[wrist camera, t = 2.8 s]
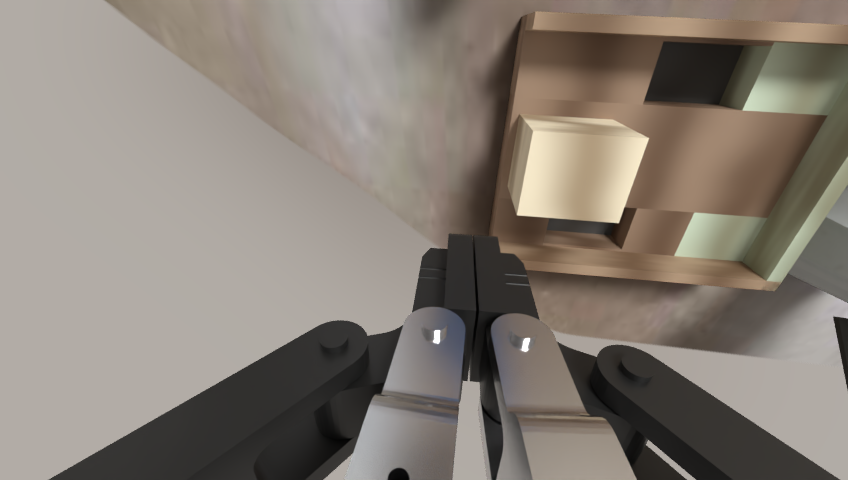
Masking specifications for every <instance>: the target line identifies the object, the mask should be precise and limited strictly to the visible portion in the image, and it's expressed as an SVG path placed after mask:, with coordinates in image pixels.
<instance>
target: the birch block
mask: <svg viewBox="0 0 848 480" xmlns="http://www.w3.org/2000/svg"><path fill="white" fill-rule="evenodd" d="M648 140H649V138H648V137H646V136H644V135H642V134H640V133H638V132H636V131H634V130H632V129H630V128H628V127H626V126H625V125H623V124H621V123H619V122H617V121H615V120H611V119H594V118H577V117H561V116H544V115H528V114H520V115H519V121H518V127H517V133H516V139H515V144H514V150H513V156H512V162H511V168H510V174H509V180H508V189H509V192H510V195H511V198H512V201H513V205H514V208H515V211H516V214H517V215H519V216H532V217H545V218H558V219H571V220H584V221H597V222H609V223H619V221H620V218H621V216H622V213H623V210H624V207H625V204H626V202H627V199H628V196H629V193H630V190H631V188H632V185H633V182H634V179H635V176H636V174H637V171H638V168H639V165H640V162H641V160H642V157H643V154H644V151H645V148H646V146H647V143H648Z"/></svg>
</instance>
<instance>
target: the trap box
mask: <svg viewBox="0 0 848 480" xmlns="http://www.w3.org/2000/svg"><path fill="white" fill-rule="evenodd" d="M520 114H528V115H544V116H561V117H577V118H594V119H611V120H615V121H617V122H619V123H621V124H623V125H625V126H626V127H628V128H630V129H632V130H634V131H636V132H638V133H640V134H642V135H644V136H646V137H648V138H649V140H648V143H647V146H646V148H645V151H644V154H643V157H642V160H641V162H640V165H639V168H638V171H637V174H636V176H635V179H634V182H633V185H632V188H631V190H630V193H629V196H628V199H627V202H626V204H625V207H624V210H623V213H622V216H621V218H620V221H619V223H609V222H597V221H584V220H571V219H558V218H545V217H532V216H519V215H517V214H516V211H515V208H514V205H513V201H512V198H511V195H510V192H509V189H508V180H509V174H510V168H511V162H512V156H513V150H514V144H515V139H516V133H517V127H518V121H519V115H520ZM847 185H848V25H836V24H813V23H790V22H767V21H744V20H721V19H698V18H675V17H652V16H629V15H606V14H583V13H560V12H537V11H536V12H533V13H530V14H528V15H525V16H523V17H521V23H520V29H519V36H518V42H517V49H516V56H515V62H514V69H513V75H512V82H511V88H510V95H509V102H508V108H507V115H506V121H505V128H504V134H503V141H502V148H501V154H500V161H499V167H498V174H497V180H496V187H495V194H494V200H493V207H492V213H491V220H490V226H489V233H488V236H495V237H498V241H499V246H500V251H501V253H512V254H515V255H516V256H517V257H518V258H519V259H520V260H521V261H522V262H523V263H524V266H525V270H534V271H546V272H557V273H569V274H581V275H592V276H604V277H616V278H627V279H639V280H651V281H662V282H674V283H685V284H697V285H709V286H720V287H732V288H744V289H755V290H767V291H776V290H777V288H778V287H779V285H780V284H781V282H782V281H783V279H784V278H785V276H786V275H787V273H788V272H789V271H790V269H791V268H792V266H793V265H794V263H795V262H796V260H797V259H798V257H799V256H800V254H801V253H802V251H803V250H804V248H805V247H806V245H807V244H808V243H809V241H810V240H811V238H812V237H813V235H814V234H815V232H816V231H817V229H818V228H819V226H820V225H821V223H822V222H823V220H824V219H825V217H826V216H827V214H828V213H829V212H830V210H831V209H832V207H833V206H834V204H835V203H836V201H837V200H838V198H839V197H840V195H841V194H842V192H843V191H844V189H845V188H846V186H847Z"/></svg>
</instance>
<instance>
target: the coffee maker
mask: <svg viewBox="0 0 848 480" xmlns="http://www.w3.org/2000/svg"><path fill="white" fill-rule="evenodd" d="M788 274H790V275H792V276H794V277H796V278H798V279H800V280H802V281H804V282H806V283H808V284H810V285H812V286H814V287H816V288H818V289H820V290H822V291H824V292H827V293H829V294H831V295H833V296H835V297H837V298H839V299H841V300H843V301H845V302H847V303H848V185H847V186H846V188H845V189H844V191H843V192H842V194H841V195H840V197H839V198H838V200H837V201H836V203H835V204H834V206H833V207H832V209H831V210H830V212H829V213H828V214H827V216H826V217H825V219H824V220H823V222H822V223H821V225H820V226H819V228H818V229H817V231H816V232H815V234H814V235H813V237H812V238H811V240H810V241H809V243H808V244H807V245H806V247H805V248H804V250H803V251H802V253H801V254H800V256H799V257H798V259H797V260H796V262H795V263H794V265H793V266H792V268H791V269H790V271H789V272H788ZM833 318H834V323H835V328H836V333H837V338H838V343H839V348H840V353H841V359H842V364H843V369H844V374H845V379H846V384H847V389H848V319H847V318H840V317H833Z"/></svg>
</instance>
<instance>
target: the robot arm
mask: <svg viewBox="0 0 848 480" xmlns="http://www.w3.org/2000/svg"><path fill="white" fill-rule="evenodd" d="M469 364H470V381H474V382H480V401H479V407H478V413H479V422H480V428H481V429H480V430H481V437H482V445H483V453H484V460H485V468H486V476H487V480H686V479H685V478H684V477H683V476H682V475H681V474H679V473H678V472H677V471H676V470H675V469H673V468H672V467H671V466H670V465H669V464H668V463H666V462H665V461H664V460H663V459H662V458H660V457H659V456H658V455H657V454H656V453H655V452H654V451H652V450H651V449H650V448H648V446H646V443H647V441H648V440H649V441H651V442H652V443H653V444H654V445H655V446H657V447H658V448H659V449H660V450H662V451H663V452H664V453H665V454H666V455H667V456H669V457H670V458H671V459H672V460H673V461H675V462H676V463H677V464H678V465H680V466H681V467H682V468H683V469H685V471H686V472H688V473H689V474H690V475H691V476H692V477H694V478H695V479H696V480H839V479H838V478H836V477H835V476H833V475H832V474H830V473H829V472H827V471H826V470H824V469H823V468H821V467H820V466H818V465H817V464H815V463H814V462H812V461H811V460H809V459H808V458H806V457H805V456H803V455H802V454H800V453H798V452H797V451H796V450H794V449H792V448H791V447H789V446H788V445H786V444H785V443H783V442H782V441H780V440H779V439H777V438H776V437H774V436H773V435H771V434H770V433H768V432H767V431H765V430H764V429H762V428H760V427H759V426H757V425H756V424H754V423H753V422H752V421H750V420H748V419H747V418H745V417H744V416H742V415H741V414H739V413H738V412H736V411H735V410H733V409H732V408H730V407H729V406H727V405H726V404H724V403H723V402H721V401H720V400H718V399H717V398H715V397H714V396H712V395H711V394H709V393H708V392H706V391H705V390H703V389H701V388H700V387H698V386H697V385H695V384H694V383H692V382H691V381H689V380H688V379H686V378H685V377H683V376H682V375H680V374H679V373H677V372H676V371H674V370H673V369H671V368H670V367H668V366H667V365H665V364H664V363H662V362H661V361H659V360H657V359H656V358H654V357H653V356H651V355H650V354H648V353H646V352H644V351H642V350H639V349H637V348H634V347H630V346H624V345H611V346H607V347H605V348H603V349H602V350H601V351H600V352H599V354H598V356H597V357H595V356H592V355H589V354H586V353H583V352H580V351H576V350H574V349H571V348H568V347H566V346H564V345H562V344H560V343H559V342H557V341H556V338H555V336H554V334H553V332H552V331H551V330H550V328H549V327H548V326H547V325H546V324H544V323H543V322H542V321H540V320H539V316H538V313H537V309H536V306H535V302H534V298H533V295H532V291H531V288H530V286H529V281H528V277H527V273H526V270H525V266H524V263H523V262H522V261H521V260H520V259H519V258H518V257H517V256H516V255H515V254H512V253H501V251H500V246H499V241H498V237H495V236H479V235H474V236H473V242H472V235H463V234H449V238H448V249H437V248H430V249H429V250H428V251H427V252H426V253H425V254H424V256H423V257H422V261H421V267H420V273H419V278H418V283H417V289H416V294H415V300H414V305H413V311H412V313H411V314H410V315H409V316H408V317H407V318H406V320H405V322H404V325H402V326H401V327H399V328H397V329H396V330H393V331H390V332H387V333H382V334H376V335H370V336H367V334H366V332H365V331H364V329H363V328H362V327H361V326H359V325H358V324H355V323H353V322H350V321H331V322H327V323H324V324H321V325H319V326H317V327H315V328H314V329H312V330H310V331H309V332H307V333H305V334H303V335H301V336H300V337H298V338H296V339H294V340H293V341H291V342H289V343H287V344H286V345H284V346H282V347H280V348H279V349H277V350H275V351H273V352H272V353H270V354H268V355H267V356H265V357H263V358H261V359H259V360H258V361H256V362H254V363H252V364H251V365H249V366H248V367H245V368H244V369H242V370H240V371H238V372H237V373H235V374H233V375H231V376H230V377H228V378H226V379H224V380H223V381H221V382H219V383H217V384H216V385H214V386H212V387H210V388H209V389H207V390H205V391H203V392H201V393H200V394H198V395H196V396H194V397H193V398H191V399H189V400H187V401H186V402H184V403H182V404H180V405H179V406H177V407H175V408H173V409H172V410H170V411H168V412H166V413H165V414H163V415H161V416H160V417H158V418H156V419H154V420H153V421H151V422H149V423H147V424H146V425H144V426H142V427H140V428H138V429H137V430H135V431H133V432H131V433H130V434H128V435H126V436H125V437H123V438H121V439H119V440H117V441H116V442H114V443H112V444H110V445H109V446H107V447H105V448H104V449H102V450H100V451H98V452H96V453H95V454H93V455H91V456H89V457H88V458H86V459H84V460H82V461H81V462H79V463H77V464H76V465H74V466H72V467H70V468H68V469H67V470H65V471H63V472H61V473H60V474H58V475H56V476H54V477H53V478H51V479H49V480H323V479H324V478H326V477H327V476H328V475H329V474H330V473H331V472H332V471H333V470H335V469H336V468H337V467H338V466H339V465H340V464H341V463H342V462H343V461H345V460H346V459H347V458H348V457H349V456H350V455H351V454H352V453H353V455H352V459H351V461H350V464H349V467H348V470H347V473H346V476H345V479H344V480H452V478H453V467H454V455H455V445H456V433H457V423H458V411H459V402H460V399H461V391H462V383H463V381H467V379H468V371H469Z"/></svg>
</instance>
